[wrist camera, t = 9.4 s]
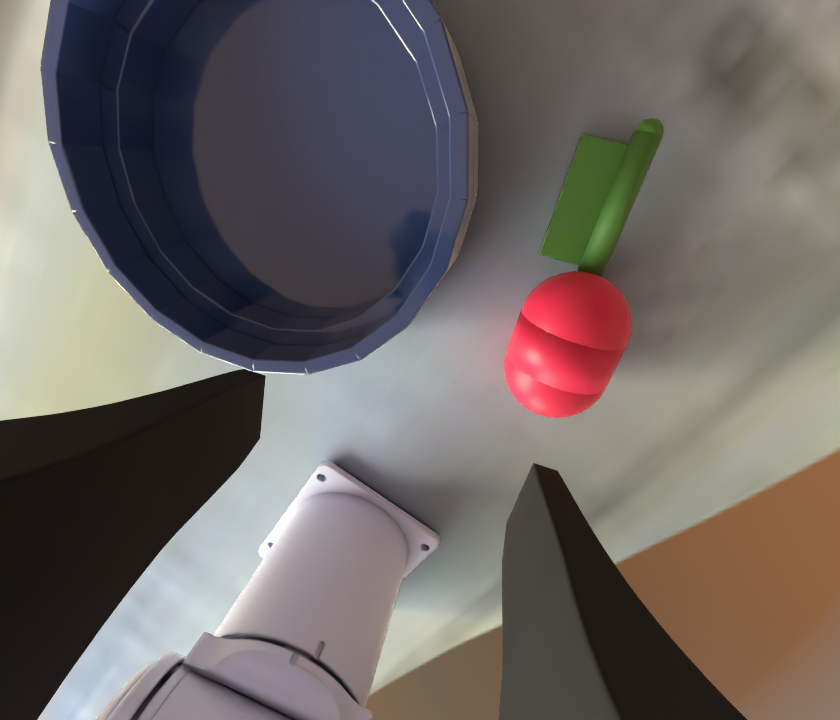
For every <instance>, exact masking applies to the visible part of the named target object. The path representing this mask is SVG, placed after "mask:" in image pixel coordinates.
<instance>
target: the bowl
mask: <svg viewBox="0 0 840 720" xmlns="http://www.w3.org/2000/svg"><path fill="white" fill-rule="evenodd" d="M41 76H42V86H43V96H44V105H45V115H46V125H47V135H48V142H50V143H49V145H50V148H51V151H52V154H53V157H54V160H55V163H56V166H57V169H58V172H59V175H60V178H61V181H62V184H63V187H64V190H65V193H66V196H67V199H68V202H69V205H70V208H71V210H72V211H73V215H74V216H75V218H76V220H77V221H78V223H79V225H80V226H81V228H82V230H83V232H84V233H85V235H86V237H87V238H88V240H89V242H90V243H91V245H92V247H93V248H94V250H95V252H96V253H97V255H98V257H99V259H100V260H101V262H102V264H103V265H104V267H105V269H106V270H107V271H108V273H109V274H110V275H111V276H112V277H113V278H114V280H115V281H116V282H117V283H118V284H119V285H120V286H121V287H122V288H123V289H124V290H125V291H126V293H127V294H128V295H129V296H130V297H131V298H132V299H133V300H134V301H135V302H136V303H137V304H138V305H139V307H140V308H141V309H142V310H143V311H144V312H145V313H146V314H147V315H148V316H149V317H150V318H151V319H152V320H153V321H154V322H156V323H157V324H159V325H160V326H162V327H163V328H165V329H166V330H168V331H169V332H170V333H172V334H173V335H175V336H176V337H178V338H179V339H181V340H182V341H184V342H185V343H187V344H188V345H190V346H191V347H192V348H194V349H195V350H197V351H198V352H201V353H203V354H205V355H208V356H211V357H214V358H217V359H219V360H222V361H225V362H228V363H230V364H233V365H236V366H239V367H242V368H244V369H247V370H250V371H254V372H267V373H285V374H304V375H307V374H312V373H316V372H320V371H323V370H327V369H330V368H334V367H338V366H341V365H345V364H349V363H352V362H356V361H359V360H362V359H363V358H365V357H366V356H367V355H369V354H370V353H372V352H373V351H374V350H376V349H377V348H379V347H380V346H382V345H383V344H384V343H386V342H387V341H389V340H390V339H391V338H393V337H394V336H396V335H397V334H399V333H400V332H401V331H403V330H404V329H406V328H407V327H408V325H410V323H411V322H412V321H413V319H414V318H415V316H416V315H417V314H418V312H419V311H420V309H421V308H422V307H423V305H424V304H425V302H426V301H427V300H428V298H429V297H430V295H431V294H432V292H433V291H434V290H435V288H436V287H437V285H438V284H439V283H440V281H441V280H442V278H443V277H444V276H445V274H446V273H447V271H448V270H449V268H450V267H451V266H452V264H453V263H454V261H455V260H456V259H457V257H458V255H459V253H460V249H461V246H462V243H463V240H464V237H465V233H466V230H467V227H468V224H469V221H470V218H471V214H472V211H473V208H474V205H475V202H476V198H477V195H476V194H477V193H478V124H477V122H478V120H477V116H476V113H475V109H474V106H473V102H472V99H471V95H470V92H469V88H468V85H467V81H466V77H465V74H464V70H463V67H462V63H461V60H460V56H459V53H458V51H457V49H456V46H455V44H454V42H453V40H452V38H451V36H450V33H449V31H448V29H447V27H446V25H445V23H444V21H443V19H442V17H441V16H440V14H439V12H438V11H437V9H436V8H435V6H434V5H433V3H432V2H431V0H51V2H50V8H49V14H48V21H47V27H46V33H45V40H44V46H43V52H42V59H41Z"/></svg>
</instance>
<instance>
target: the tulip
mask: <svg viewBox="0 0 840 720" xmlns="http://www.w3.org/2000/svg"><path fill="white" fill-rule="evenodd" d="M663 133H664V127H663V124H662V123H661V122H660V121H659V120H658V119H655V118H648V119H645V120H643V121H641V122H640V123H639V124H638V125H637V126H636V128H635V130H634V132H633V134H632V137H631V139H630V142H629V144H628V145H627V144H623V143H619V142H615V141H611V140H607V139H603V138H599V137H595V136H591V135H587V134H582V135H581V138H580V141H579V144H578V146H577V149H576V152H575V155H574V158H573V160H572V163H571V166H570V169H569V172H568V174H567V177H566V180H565V183H564V186H563V188H562V191H561V194H560V197H559V199H558V202H557V205H556V208H555V211H554V213H553V216H552V219H551V222H550V225H549V227H548V230H547V233H546V236H545V239H544V241H543V244H542V247H541V250H540V253H539V254H540V255H544V256H547V257H551V258H554V259H558V260H561V261H565V262H568V263H572V264H576V265H579V268H578V272H576V271H573V272H567V273H561V274H558V275H555V276H553V277H551V278H549V279H547V280H546V281H544V282H542V283H541V284H540V285H538V286H537V287H536V288H535V289H534V290H533V291H532V292H531V294H530V295H529V296H528V298H527V299H526V301H525V303H524V305H523V307H522V309H521V312H520V315H519V318H518V320H517V323H516V326H515V329H514V331H513V334H512V337H511V340H510V343H509V345H508V348H507V352H506V356H505V360H504V372H505V378H506V382H507V384H508V387H509V389H510V391H511V393H512V394H513V395H514V397H515V398H516V399H517V400H518V402H519V403H521V404H522V405H523V406H524V407H526V408H527V409H529V410H531V411H532V412H534V413H537V414H539V415H543V416H547V417H552V418H559V417H569V416H572V415H575V414H578V413H581V412H583V411H584V410H586V409H588V408H589V407H591V406H592V405H593V404H594V403H595V402H596V401H597V400H598V399H599V398H600V397H601V395H602V394H603V392H604V391H605V389H606V387H607V385H608V383H609V381H610V379H611V377H612V375H613V373H614V371H615V369H616V367H617V365H618V362H619V360H620V358H621V356H622V354H623V352H624V350H625V348H626V346H627V343H628V341H629V338H630V334H631V327H632V320H631V312H630V309H629V306H628V303H627V301H626V300H625V298H624V296H623V295H622V293H621V292H620V291H619V290H618V289H617V288H616V287H615V285H613V284H612V283H611V282H609V281H608V280H606V279H605V278H603V277H602V275H603V273H604V271H605V268H606V266H607V264H608V261H609V259H610V257H611V254H612V252H613V250H614V248H615V245H616V243H617V241H618V238H619V236H620V234H621V231H622V229H623V227H624V224H625V222H626V220H627V217H628V215H629V213H630V211H631V208H632V206H633V204H634V201H635V199H636V197H637V194H638V192H639V190H640V187H641V185H642V183H643V180H644V178H645V176H646V174H647V171H648V169H649V167H650V164H651V162H652V160H653V157H654V155H655V153H656V150H657V148H658V146H659V143H660V141H661V139H662V136H663Z"/></svg>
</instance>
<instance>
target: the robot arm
mask: <svg viewBox="0 0 840 720" xmlns="http://www.w3.org/2000/svg"><path fill="white" fill-rule="evenodd" d="M264 386H265V376H264V375H261V374H258V373H255V372H252V371H249V370H246V369H242V370H237V371H232V372H229V373H225V374H221V375H218V376H214V377H211V378H207V379H204V380H200V381H197V382H193V383H190V384H186V385H183V386H179V387H176V388H172V389H169V390H165V391H161V392H157V393H153V394H149V395H145V396H141V397H137V398H133V399H129V400H125V401H121V402H117V403H112V404H108V405H103V406H98V407H93V408H87V409H82V410H76V411H70V412H64V413H58V414H52V415H44V416H36V417H28V418H19V419H11V420H3V421H0V720H37V719H38V718H39V716H40V715H41V713H42V712H43V710H44V709H45V707H46V706H47V704H48V703H49V701H50V700H51V698H52V697H53V695H54V694H55V692H56V691H57V689H58V688H59V686H60V685H61V683H62V682H63V680H64V679H65V678H66V676H67V675H68V673H69V672H70V671H71V669H72V668H73V666H74V665H75V664H76V662H77V661H78V659H79V658H80V657H81V655H82V654H83V652H84V651H85V650H86V648H87V647H88V645H89V644H90V643H91V641H92V640H93V638H94V637H95V636H96V634H97V633H98V631H99V630H100V629H101V627H102V626H103V625H104V623H105V622H106V621H107V619H108V618H109V617H110V615H111V614H112V613H113V611H114V610H115V609H116V607H117V606H118V605H119V603H120V602H121V601H122V599H123V598H124V597H125V595H126V594H127V593H128V591H129V590H130V589H131V587H132V586H133V585H134V584H135V582H136V581H137V580H138V579H139V577H140V576H141V575H142V573H143V572H144V571H145V570H146V568H147V567H148V566H149V565H150V563H151V562H152V561H153V560H154V558H155V557H156V556H157V555H158V553H159V552H160V551H161V550H162V548H163V547H164V546H165V545H166V544H167V543H168V542H169V541H170V539H171V538H172V537H173V536H174V535H175V534H176V533H177V532H178V531H179V530H180V529H181V528H182V527H183V526H184V524H185V523H186V522H187V521H188V520H189V519H190V518H191V517H192V516H193V515H194V514H195V513H196V512H197V511H198V510H199V509H200V508H201V507H202V506H203V505H204V504H205V503H206V502H207V501H208V500H209V499H210V497H211V496H212V495H213V494H214V493H215V492H216V491H217V490H218V489H219V488H220V487H221V486H222V485H223V484H224V483H225V482H226V481H227V480H228V479H229V477H230V476H231V475H232V474H233V473H234V472H235V471H236V470H237V469H238V468H239V466H240V465H241V464H242V462H243V461H244V460H245V458H246V457H247V456H248V454H249V453H250V452H251V450H252V449H253V447H254V446H255V444H256V443H257V442H258V440H259V439H260V431H261V420H262V409H263V398H264ZM321 474H323V475H325V476H326V477H323V476H322V475H321ZM439 542H440V537H439V535H438V534H437V533H435V532H434V531H432V530H431V529H429V528H428V527H426V526H425V525H423V524H422V523H421V522H419V521H418V520H416V519H415V518H413V517H412V516H410V515H409V514H407V513H406V512H404V511H403V510H401V509H400V508H398V507H397V506H395V505H394V504H392V503H391V502H390V501H388V500H387V499H385V498H384V497H382V496H381V495H379V494H378V493H376V492H375V491H373V490H372V489H370V488H369V487H367V486H366V485H364V484H363V483H362V482H360V481H359V480H357V479H356V478H354V477H353V476H351V475H350V474H348V473H347V472H345V471H344V470H342V469H341V468H339V467H338V466H336V465H335V464H333V463H332V462H330V461H323V462H322V463H321V464H320V465H319V466H318V468H317V469H316V471H315V472H314V473H313V475H312V476H311V477H310V479H309V480H308V482H307V483H306V484H305V486H304V487H303V489H302V490H301V491H300V493H299V494H298V495H297V497H296V498H295V500H294V501H293V502H292V504H291V505H290V507H289V508H288V509H287V511H286V512H285V514H284V515H283V516H282V518H281V519H280V520H279V522H278V523H277V525H276V526H275V527H274V529H273V530H272V532H271V533H270V534H269V536H268V537H267V538H266V540H265V541H264V543H263V544H262V545H261V547H260V548H259V554H260V556H262V557H263V558H264V559H263V561H262V562H261V564H260V565H259V567H258V568H257V570H256V571H255V573H254V574H253V576H252V577H251V579H250V580H249V582H248V583H247V585H246V587H245V588H244V590H243V591H242V593H241V594H240V596H239V597H238V599H237V600H236V602H235V603H234V605H233V606H232V608H231V609H230V611H229V612H228V614H227V615H226V617H225V618H224V620H223V621H222V623H221V624H220V626H219V627H218V629H217V631H216V632H215V634H214V635H212V634H209V633H207V632H205V633H203V634H202V635H201V637H200V638H199V640H198V641H197V643H196V644H195V646H194V647H193V648H192V650H191V651H190V653H189V654H188V656H187V657H185V656H183V655H181V654H179V653H175V652H171V653H169V654H166V655H164V656H163V657H162V658H160V659H158V660H156V661H154V662H152V663H149V664H147V665H146V666H144V667H143V668H141V669H140V670H139V671H138V672H137V673H136V674H135V675H133V676H132V677H131V678H130V679H129V680H128V682H127V683H126V684H125V685H124V686H123V687H122V688H121V689H120V690H119V691H118V693H117V694H116V695H115V696H114V697H113V699H112V700H111V701H110V702H109V703H108V705H107V706H106V707H105V708H104V710H103V711H102V712H101V713H100V715H99V716H98V717H97V719H96V720H372V716H373V714H372V712H371V711H369V710H367V709H365V706H366V703H367V699H368V696H369V692H370V689H371V686H372V682H373V679H374V675H375V672H376V668H377V665H378V661H379V658H380V654H381V651H382V647H383V644H384V640H385V637H386V633H387V630H388V626H389V623H390V619H391V616H392V612H393V609H394V605H395V602H396V598H397V595H398V591H399V588H400V584H401V581H402V580H403V579H404V578H405V577H406V576H407V575H408V574H409V573H410V572H412V571H413V570H414V569H415V568H416V567H417V566H418V565H419V564H420V563H421V562H422V561H423V560H424V559H425V558H426V557H427V556H428V555H430V554H431V553H432V552H433V551H434V550H435V549H436V548H437V547H438V545H439ZM424 544H427V545H424ZM502 616H503V663H502V684H501V695H500V707H499V719H498V720H747V719H746V718H745V717H744V716H743V715H742V714H741V713H740V712H739V711H738V710H737V709H736V708H735V707H734V706H733V705H732V704H731V703H730V702H729V701H728V700H727V699H726V698H725V697H724V696H723V695H722V694H721V693H720V692H719V690H717V689H716V687H715V686H714V685H713V684H712V683H711V682H710V681H709V680H708V679H707V678H706V677H705V676H704V675H703V673H702V672H701V671H700V670H699V669H698V668H697V667H696V666H695V665H694V663H693V662H692V661H691V660H690V659H689V658H688V657H687V656H686V655H685V654H684V652H683V651H682V650H681V649H680V648H679V647H678V646H677V644H676V643H675V642H674V641H673V640H672V639H671V637H670V636H669V635H668V634H667V633H666V632H665V630H664V629H663V628H662V627H661V626H660V624H659V623H658V622H657V621H656V619H655V618H654V617H653V616H652V614H651V613H650V612H649V611H648V609H647V608H646V607H645V606H644V604H643V603H642V602H641V600H640V599H639V598H638V597H637V595H636V594H635V593H634V591H633V590H632V589H631V587H630V586H629V584H628V583H627V582H626V581H625V579H624V577H623V576H622V575H621V573H620V572H619V570H618V569H617V567H616V566H615V564H614V563H613V562H612V560H611V559H610V557H609V556H608V554H607V553H606V551H605V550H604V548H603V546H602V545H601V543H600V542H599V540H598V539H597V537H596V535H595V534H594V532H593V531H592V529H591V527H590V526H589V524H588V522H587V521H586V519H585V517H584V516H583V514H582V512H581V511H580V509H579V507H578V505H577V504H576V502H575V500H574V498H573V497H572V495H571V493H570V491H569V490H568V488H567V486H566V484H565V483H564V481H563V479H562V477H561V476H560V474H559V472H558V471H556V470H553V469H550V468H547V467H544V466H541V465H538V464H535V463H533V465H532V467H531V470H530V472H529V474H528V476H527V478H526V481H525V483H524V485H523V487H522V490H521V492H520V494H519V496H518V499H517V501H516V503H515V505H514V507H513V510H512V512H511V514H510V516H509V519H508V521H507V525H506V533H505V541H504V550H503V559H502Z"/></svg>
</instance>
